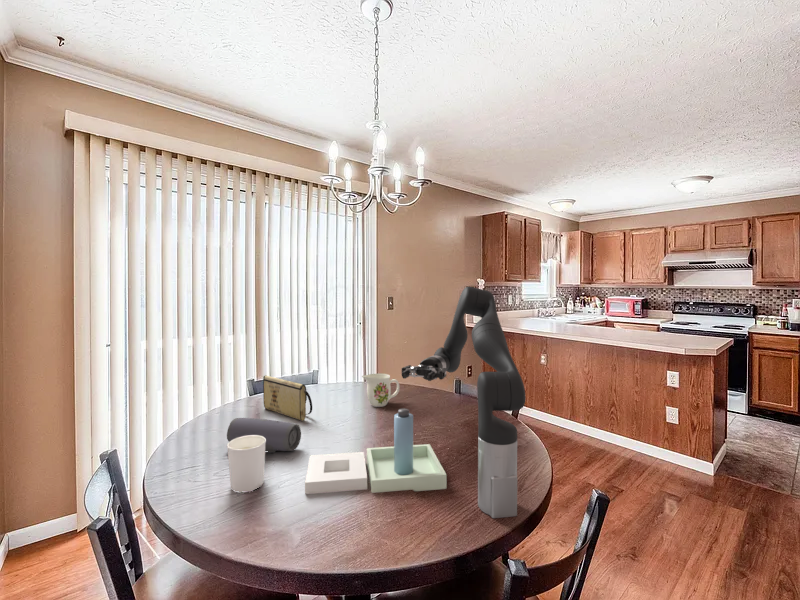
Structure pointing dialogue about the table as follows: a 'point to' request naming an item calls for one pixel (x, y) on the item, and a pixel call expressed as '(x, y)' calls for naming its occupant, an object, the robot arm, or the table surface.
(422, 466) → the tray
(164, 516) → the table surface
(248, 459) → the candle holder
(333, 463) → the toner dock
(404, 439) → the bottle
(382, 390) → the pitcher
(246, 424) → the bluetooth speaker
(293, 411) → the clutch purse
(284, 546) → the table surface
